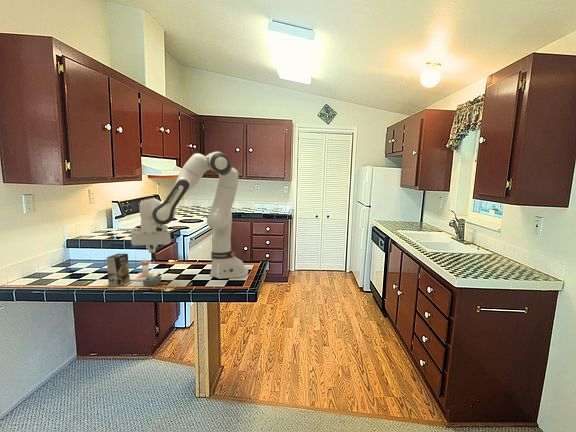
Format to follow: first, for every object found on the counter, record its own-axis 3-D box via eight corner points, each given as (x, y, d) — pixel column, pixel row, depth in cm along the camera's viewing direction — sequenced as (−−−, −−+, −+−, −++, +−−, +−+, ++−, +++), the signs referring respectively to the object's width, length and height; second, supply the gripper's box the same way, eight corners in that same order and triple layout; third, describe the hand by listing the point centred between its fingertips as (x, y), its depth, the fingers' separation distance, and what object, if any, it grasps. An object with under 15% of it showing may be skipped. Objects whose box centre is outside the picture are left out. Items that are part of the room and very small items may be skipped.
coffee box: (118, 287, 167) (116, 257, 164) (108, 286, 168) (105, 257, 166) (130, 281, 176) (128, 253, 173) (120, 280, 177) (118, 252, 175)
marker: (150, 274, 184) (149, 259, 182) (146, 276, 180) (146, 261, 179) (144, 274, 184) (143, 259, 183) (140, 276, 180) (140, 261, 179)
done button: (156, 280, 173) (156, 276, 173) (154, 282, 170) (154, 278, 169) (150, 280, 173) (149, 276, 173) (147, 282, 170) (147, 278, 169)
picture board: (159, 273, 188) (159, 272, 188) (152, 280, 176) (152, 278, 176) (139, 274, 188) (139, 272, 188) (130, 281, 176) (130, 279, 176)
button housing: (161, 281, 175) (160, 276, 175) (156, 285, 168) (156, 280, 168) (148, 281, 175) (148, 276, 175) (143, 286, 168) (142, 280, 168)
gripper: (127, 229, 166) (130, 254, 168) (167, 228, 167) (169, 253, 169) (132, 227, 172) (135, 251, 174) (170, 226, 173) (172, 250, 175)
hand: (152, 252), depth 171 cm, fingers closed
